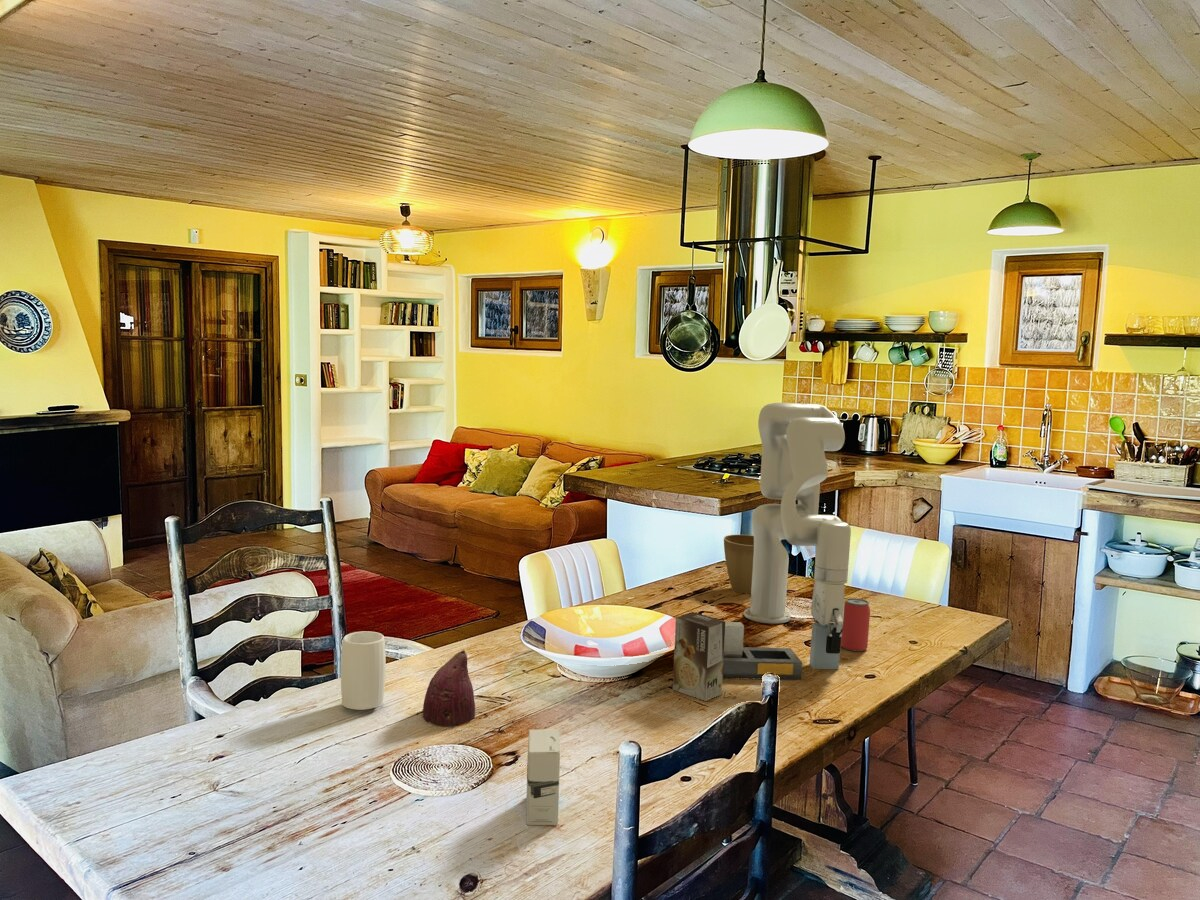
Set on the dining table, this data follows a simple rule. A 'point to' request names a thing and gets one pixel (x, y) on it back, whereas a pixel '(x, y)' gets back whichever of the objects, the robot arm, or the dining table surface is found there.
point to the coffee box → (698, 655)
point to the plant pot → (739, 561)
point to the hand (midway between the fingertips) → (826, 646)
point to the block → (821, 649)
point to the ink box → (543, 777)
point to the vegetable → (450, 694)
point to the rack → (756, 658)
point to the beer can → (855, 624)
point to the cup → (363, 670)
